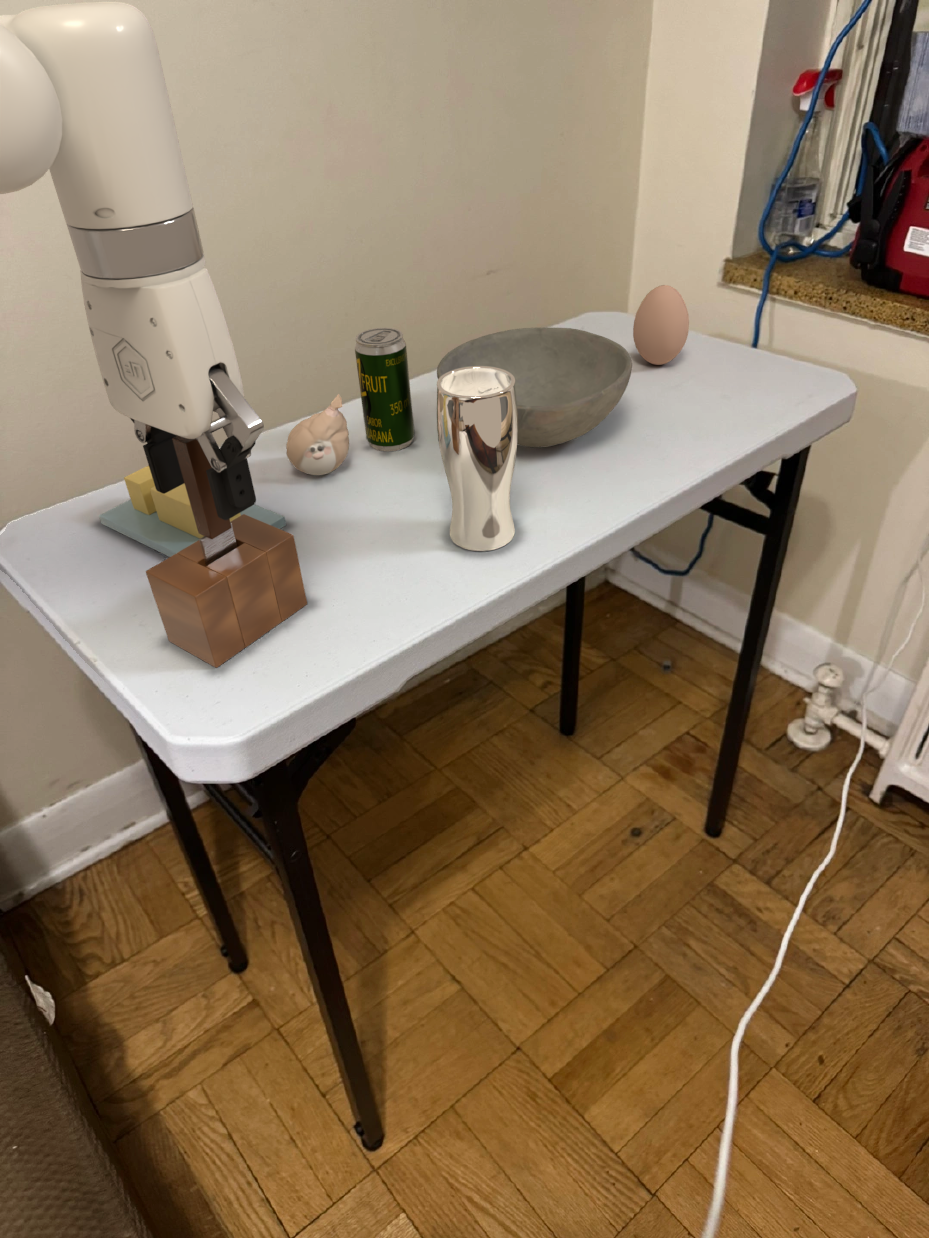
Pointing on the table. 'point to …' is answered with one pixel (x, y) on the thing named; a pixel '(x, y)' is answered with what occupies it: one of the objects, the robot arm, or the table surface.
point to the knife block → (229, 591)
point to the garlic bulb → (319, 441)
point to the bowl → (552, 378)
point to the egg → (661, 325)
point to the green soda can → (385, 388)
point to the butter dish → (168, 527)
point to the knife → (203, 500)
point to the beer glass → (478, 453)
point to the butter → (177, 509)
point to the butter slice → (141, 490)
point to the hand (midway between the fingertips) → (205, 496)
